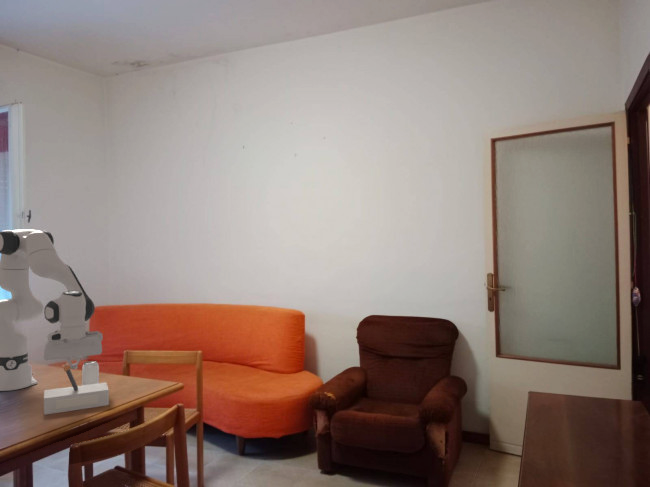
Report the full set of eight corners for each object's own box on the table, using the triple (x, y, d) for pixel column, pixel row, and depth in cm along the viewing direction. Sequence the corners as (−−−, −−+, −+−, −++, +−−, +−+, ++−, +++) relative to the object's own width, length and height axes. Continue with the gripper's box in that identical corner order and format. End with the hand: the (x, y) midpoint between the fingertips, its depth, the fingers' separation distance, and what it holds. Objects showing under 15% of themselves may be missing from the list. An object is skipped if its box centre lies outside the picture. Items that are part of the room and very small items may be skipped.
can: (102, 388, 215) (101, 361, 215) (93, 393, 208) (93, 364, 208) (87, 388, 215) (87, 360, 215) (79, 392, 209) (78, 364, 209)
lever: (73, 389, 194) (62, 364, 192) (78, 386, 195) (68, 362, 193) (73, 391, 190) (62, 366, 188) (79, 389, 191) (68, 364, 189)
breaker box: (44, 405, 192) (44, 390, 192) (106, 396, 203) (106, 382, 203) (44, 415, 182) (43, 398, 182) (109, 405, 192) (108, 389, 192)
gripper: (101, 329, 200) (102, 363, 199) (43, 334, 190) (44, 370, 190) (103, 331, 194) (103, 366, 194) (43, 337, 184) (44, 374, 184)
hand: (73, 368), depth 192 cm, fingers closed
